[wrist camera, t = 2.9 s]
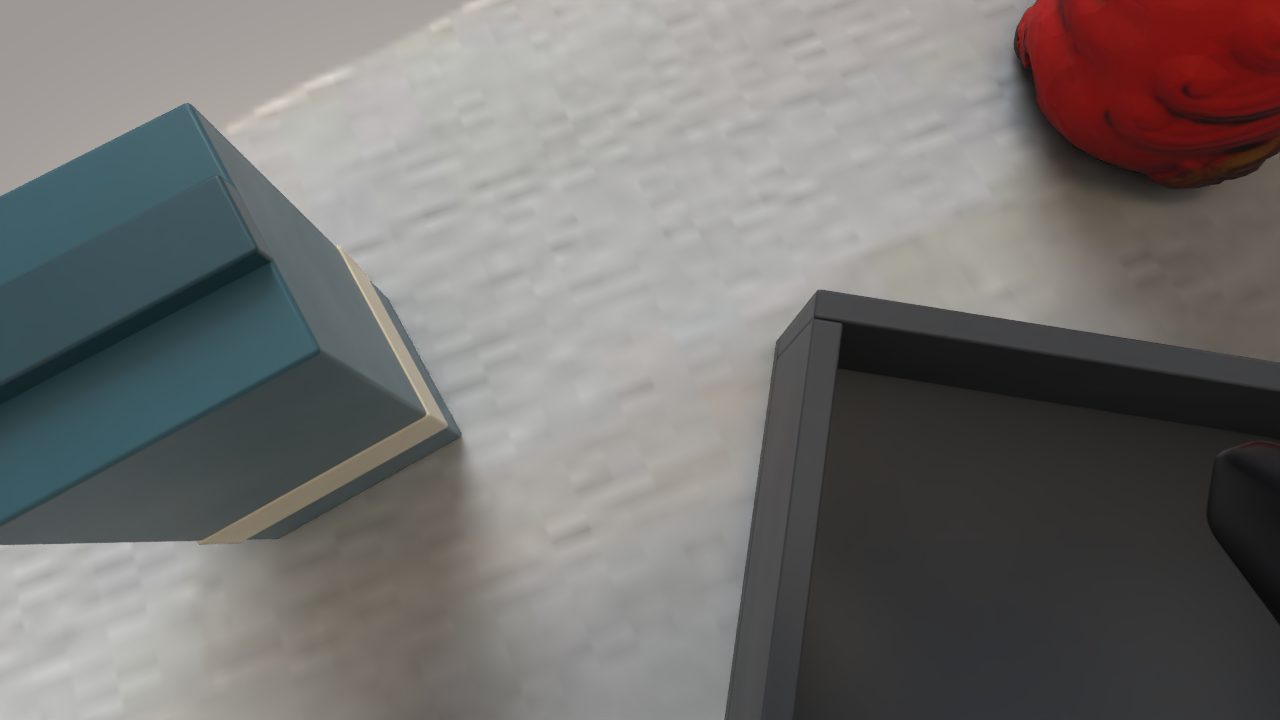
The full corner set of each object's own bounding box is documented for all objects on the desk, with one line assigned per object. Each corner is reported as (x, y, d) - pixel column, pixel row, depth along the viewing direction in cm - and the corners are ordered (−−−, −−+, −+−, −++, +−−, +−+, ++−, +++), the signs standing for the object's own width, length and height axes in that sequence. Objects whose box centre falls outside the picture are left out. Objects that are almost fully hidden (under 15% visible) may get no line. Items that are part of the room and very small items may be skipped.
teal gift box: (465, 436, 23) (314, 345, 12) (275, 543, 23) (-74, 555, 11) (387, 293, 24) (172, 77, 12) (200, 394, 23) (-203, 264, 12)
